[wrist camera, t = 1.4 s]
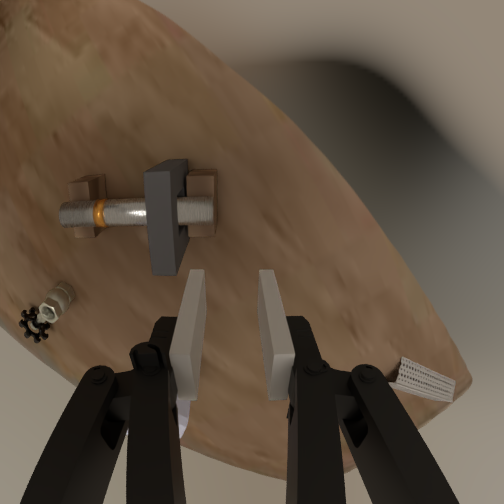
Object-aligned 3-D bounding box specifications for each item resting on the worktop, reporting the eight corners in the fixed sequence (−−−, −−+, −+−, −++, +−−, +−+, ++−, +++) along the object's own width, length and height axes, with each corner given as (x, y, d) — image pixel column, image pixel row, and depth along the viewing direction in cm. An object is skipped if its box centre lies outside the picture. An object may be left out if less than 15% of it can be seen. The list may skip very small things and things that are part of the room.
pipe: (73, 223, 32) (61, 232, 29) (69, 198, 30) (56, 205, 27) (214, 220, 33) (212, 230, 30) (214, 192, 32) (212, 199, 29)
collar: (171, 238, 37) (152, 275, 28) (167, 159, 33) (143, 172, 24) (189, 238, 37) (176, 275, 28) (187, 159, 33) (169, 171, 24)
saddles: (91, 224, 37) (75, 237, 32) (85, 175, 34) (67, 183, 29) (216, 223, 38) (214, 236, 33) (216, 169, 35) (214, 175, 31)
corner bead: (456, 378, 59) (464, 390, 55) (433, 400, 62) (440, 412, 58) (402, 352, 52) (412, 369, 47) (373, 381, 54) (380, 398, 50)
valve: (59, 269, 39) (30, 302, 42) (39, 290, 33) (12, 323, 36) (85, 299, 42) (53, 328, 44) (69, 323, 36) (38, 350, 38)
